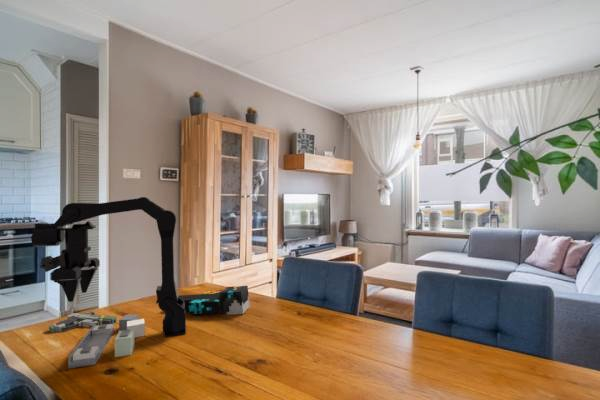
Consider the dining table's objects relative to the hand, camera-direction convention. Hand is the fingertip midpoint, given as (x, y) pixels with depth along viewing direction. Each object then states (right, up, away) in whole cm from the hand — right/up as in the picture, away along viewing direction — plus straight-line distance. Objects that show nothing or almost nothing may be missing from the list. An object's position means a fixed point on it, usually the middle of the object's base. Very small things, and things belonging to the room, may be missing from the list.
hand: (77, 296), depth 98 cm
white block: (+9, -14, +12) cm, 21 cm away
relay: (+14, -14, +7) cm, 21 cm away
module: (+17, -14, -5) cm, 22 cm away
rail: (+6, -14, -3) cm, 16 cm away
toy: (+30, -15, +31) cm, 46 cm away
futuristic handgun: (-8, -15, +15) cm, 22 cm away
